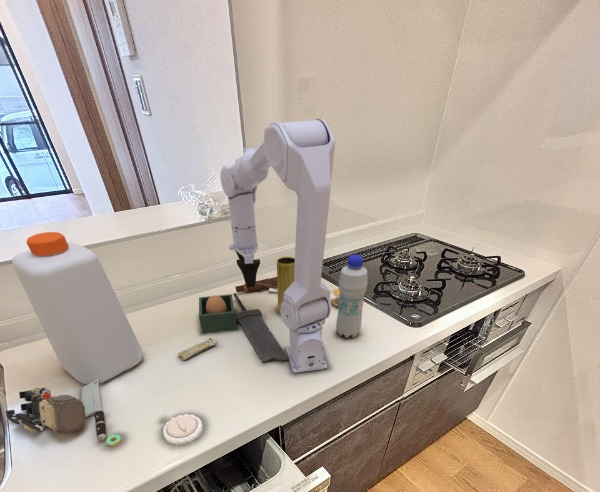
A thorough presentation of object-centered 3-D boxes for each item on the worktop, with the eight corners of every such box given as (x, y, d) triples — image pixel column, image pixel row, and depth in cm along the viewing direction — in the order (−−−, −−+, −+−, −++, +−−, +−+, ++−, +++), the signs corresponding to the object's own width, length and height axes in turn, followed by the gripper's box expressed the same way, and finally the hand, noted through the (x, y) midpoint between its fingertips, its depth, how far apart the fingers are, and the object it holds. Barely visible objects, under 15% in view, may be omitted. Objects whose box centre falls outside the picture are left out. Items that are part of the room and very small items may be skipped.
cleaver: (76, 388, 73) (96, 376, 73) (81, 392, 74) (101, 380, 74) (79, 449, 63) (103, 434, 63) (85, 452, 64) (109, 438, 64)
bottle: (359, 341, 88) (370, 262, 74) (333, 338, 89) (339, 260, 75) (361, 327, 92) (372, 250, 79) (336, 325, 93) (342, 248, 80)
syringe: (284, 295, 107) (285, 293, 108) (285, 289, 106) (286, 287, 107) (252, 289, 106) (253, 287, 108) (252, 282, 105) (254, 281, 107)
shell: (345, 317, 99) (357, 307, 100) (344, 306, 96) (357, 296, 96) (327, 302, 103) (339, 293, 104) (326, 291, 99) (338, 282, 100)
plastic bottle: (117, 337, 89) (67, 218, 70) (151, 359, 82) (106, 234, 63) (57, 365, 81) (-19, 239, 62) (89, 392, 74) (14, 260, 54)
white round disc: (196, 411, 70) (194, 404, 68) (208, 435, 65) (206, 427, 64) (159, 424, 67) (156, 417, 66) (169, 450, 63) (166, 443, 61)
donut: (167, 431, 67) (166, 427, 67) (108, 448, 63) (106, 445, 62) (164, 422, 69) (163, 419, 68) (106, 439, 65) (104, 436, 64)
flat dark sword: (262, 369, 80) (261, 363, 79) (223, 299, 103) (221, 293, 102) (291, 361, 82) (291, 354, 81) (246, 294, 105) (245, 288, 104)
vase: (298, 315, 97) (298, 265, 87) (276, 315, 97) (273, 265, 87) (299, 305, 102) (298, 255, 92) (278, 305, 102) (275, 255, 92)
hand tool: (312, 278, 115) (312, 267, 113) (316, 280, 113) (316, 269, 111) (235, 293, 108) (233, 281, 106) (237, 296, 105) (235, 284, 103)
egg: (222, 326, 92) (218, 302, 87) (204, 323, 93) (199, 299, 89) (232, 316, 96) (228, 292, 91) (214, 313, 97) (210, 289, 92)
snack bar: (183, 359, 81) (176, 351, 82) (184, 363, 82) (177, 355, 83) (218, 342, 86) (211, 334, 87) (217, 346, 87) (210, 338, 88)
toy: (-4, 386, 65) (37, 403, 58) (44, 380, 71) (86, 395, 64) (1, 422, 66) (41, 443, 59) (47, 413, 73) (88, 431, 66)
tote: (237, 329, 92) (234, 312, 89) (202, 333, 91) (198, 316, 87) (234, 310, 99) (231, 294, 96) (202, 313, 98) (199, 297, 95)
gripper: (225, 217, 87) (232, 270, 97) (228, 236, 77) (236, 294, 86) (253, 215, 88) (257, 268, 98) (260, 234, 78) (264, 291, 87)
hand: (249, 280), depth 92 cm, fingers open, 7 cm apart
